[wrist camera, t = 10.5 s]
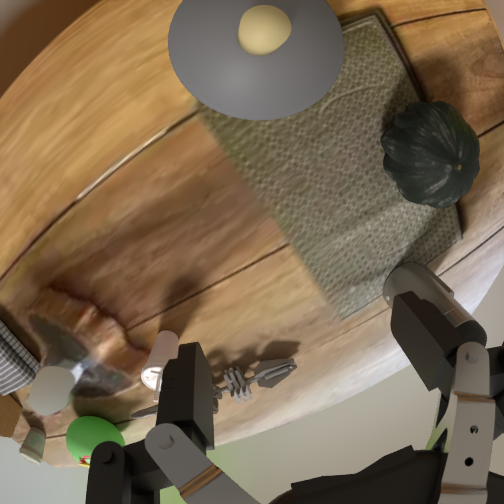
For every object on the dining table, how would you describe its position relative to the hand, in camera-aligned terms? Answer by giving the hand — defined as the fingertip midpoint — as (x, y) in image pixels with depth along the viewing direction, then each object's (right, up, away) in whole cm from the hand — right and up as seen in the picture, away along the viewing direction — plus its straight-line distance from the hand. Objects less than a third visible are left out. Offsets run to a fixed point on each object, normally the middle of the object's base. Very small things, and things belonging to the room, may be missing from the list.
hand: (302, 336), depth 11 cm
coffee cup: (-72, -55, +53) cm, 105 cm away
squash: (+22, +19, +27) cm, 40 cm away
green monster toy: (-41, -41, +49) cm, 76 cm away
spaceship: (-11, -22, +43) cm, 50 cm away
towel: (-59, -19, +37) cm, 72 cm away
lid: (-1, +25, +14) cm, 28 cm away
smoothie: (-16, -11, +38) cm, 43 cm away
